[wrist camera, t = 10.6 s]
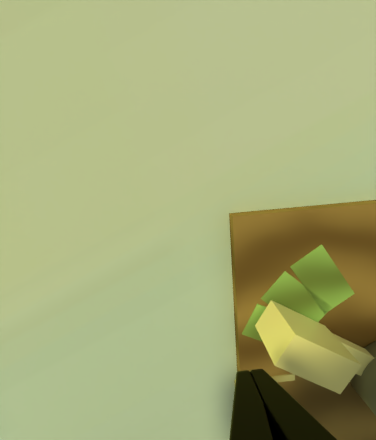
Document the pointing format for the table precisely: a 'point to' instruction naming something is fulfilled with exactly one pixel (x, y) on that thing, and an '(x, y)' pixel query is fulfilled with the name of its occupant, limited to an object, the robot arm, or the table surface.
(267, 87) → the table surface
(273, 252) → the brown flat wooden board
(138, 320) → the table surface
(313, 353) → the peg lever
